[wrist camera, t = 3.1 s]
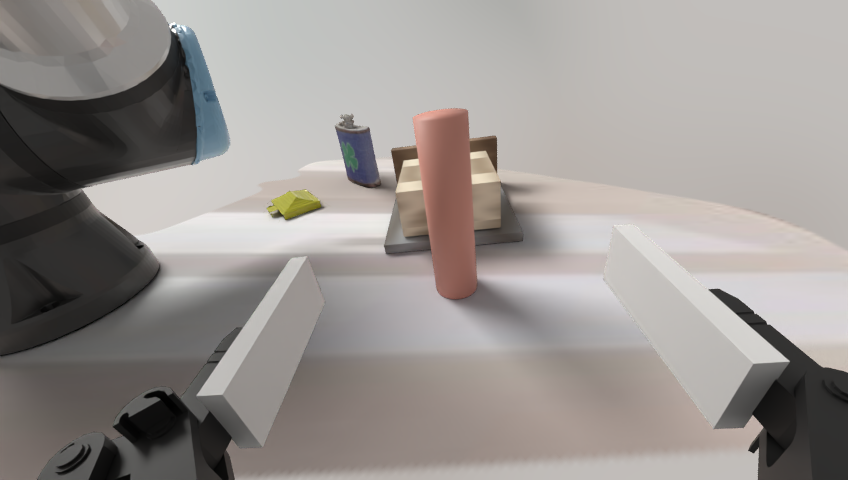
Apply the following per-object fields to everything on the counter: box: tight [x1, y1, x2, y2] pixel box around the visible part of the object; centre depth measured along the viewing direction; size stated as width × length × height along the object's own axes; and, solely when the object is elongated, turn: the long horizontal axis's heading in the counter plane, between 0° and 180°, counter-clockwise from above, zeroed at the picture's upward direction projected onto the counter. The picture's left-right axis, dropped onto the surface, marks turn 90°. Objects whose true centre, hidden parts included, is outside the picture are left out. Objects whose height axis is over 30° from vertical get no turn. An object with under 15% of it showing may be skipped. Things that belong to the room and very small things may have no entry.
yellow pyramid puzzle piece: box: [267, 189, 321, 220], centre depth 47 cm, size 10×9×3 cm
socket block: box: [395, 151, 501, 237], centre depth 35 cm, size 10×10×5 cm
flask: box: [335, 114, 381, 188], centre depth 50 cm, size 9×3×11 cm, turn 38°
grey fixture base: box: [384, 136, 523, 253], centre depth 37 cm, size 14×16×6 cm
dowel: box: [413, 108, 477, 299], centre depth 24 cm, size 4×4×14 cm
